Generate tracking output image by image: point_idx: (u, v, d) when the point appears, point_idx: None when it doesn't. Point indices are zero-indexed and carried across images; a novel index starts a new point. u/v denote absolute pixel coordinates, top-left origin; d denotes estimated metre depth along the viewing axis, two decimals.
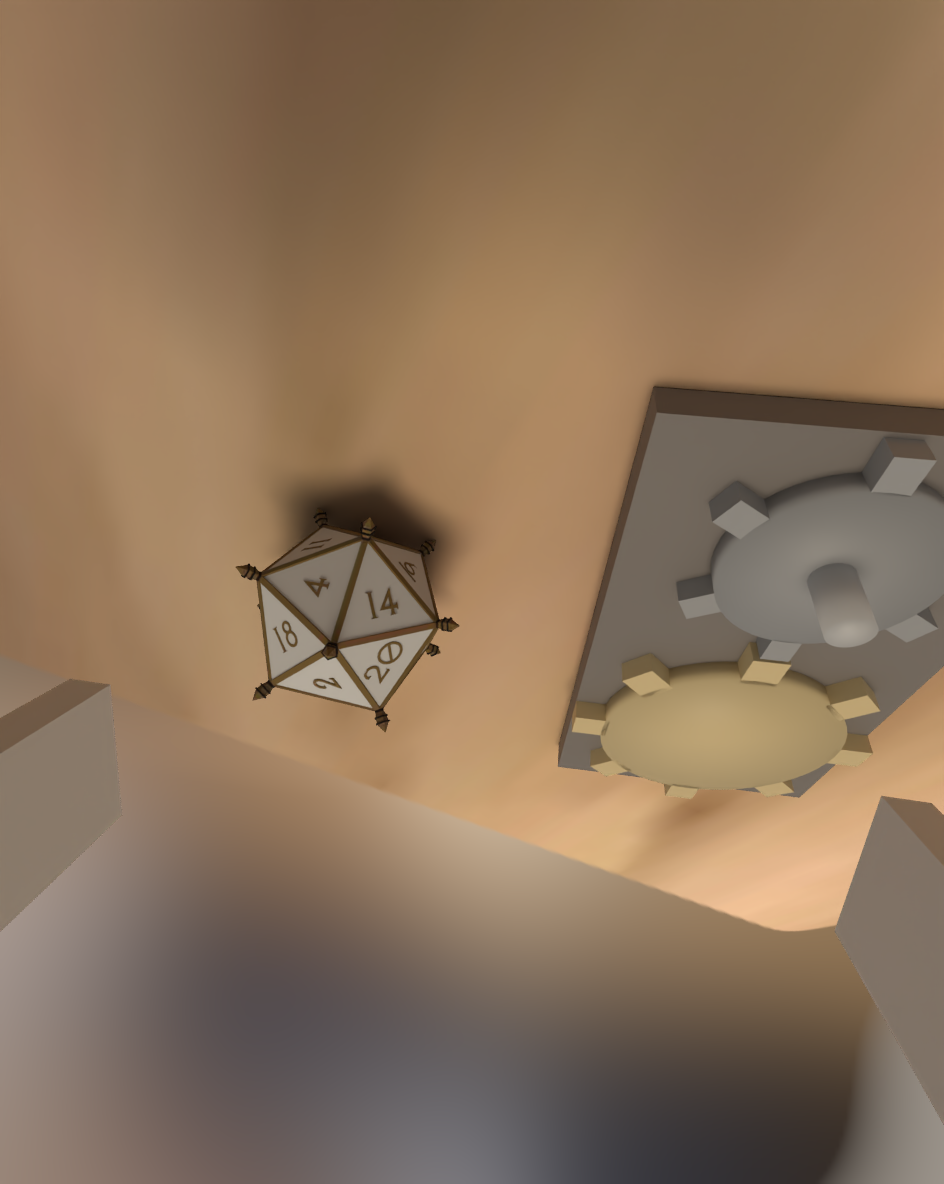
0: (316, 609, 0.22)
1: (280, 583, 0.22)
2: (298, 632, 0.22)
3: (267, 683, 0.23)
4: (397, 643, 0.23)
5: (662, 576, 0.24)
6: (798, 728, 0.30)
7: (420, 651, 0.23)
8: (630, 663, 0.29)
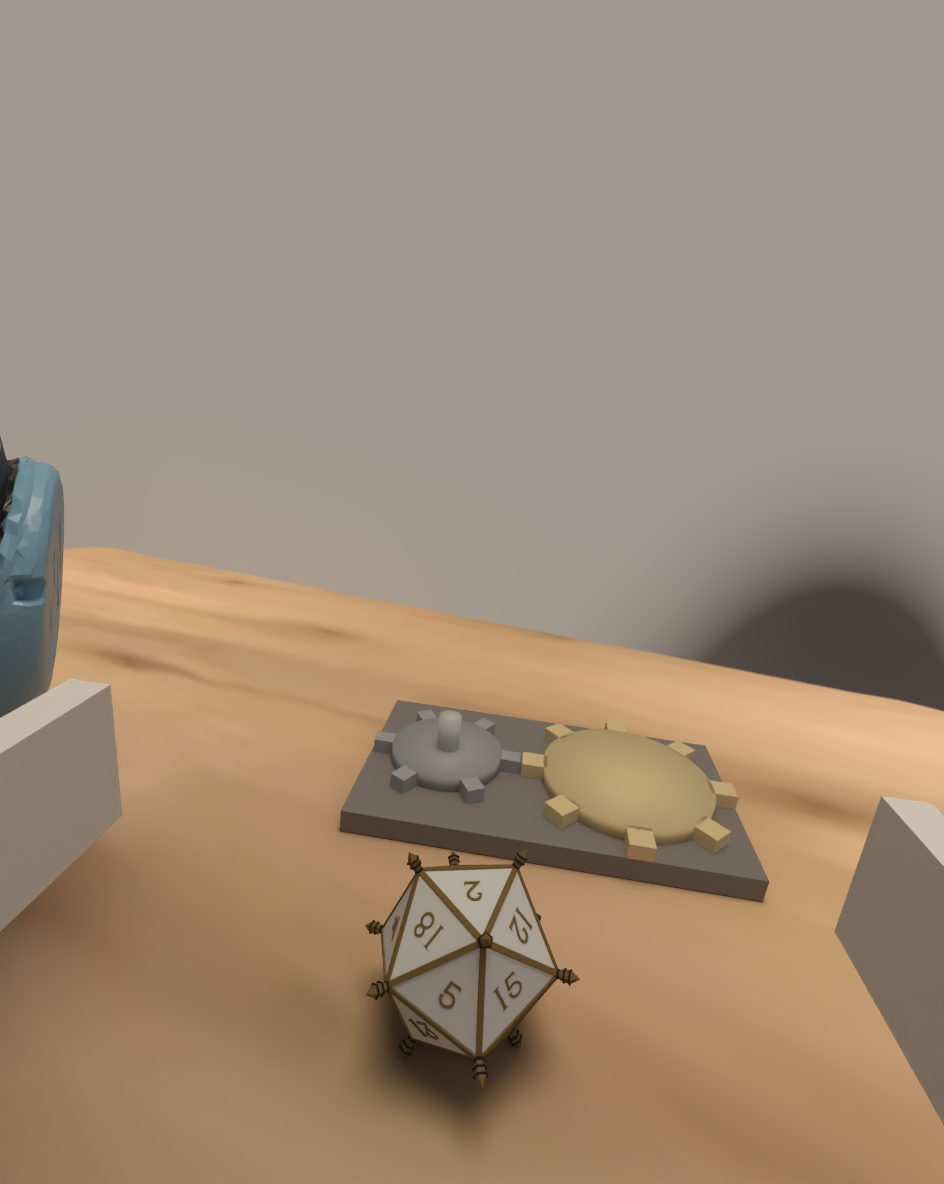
0: (404, 909, 0.25)
1: (391, 958, 0.24)
2: (419, 913, 0.25)
3: (479, 941, 0.23)
4: None
5: (461, 809, 0.39)
6: (591, 744, 0.46)
7: (471, 865, 0.29)
8: (554, 822, 0.38)
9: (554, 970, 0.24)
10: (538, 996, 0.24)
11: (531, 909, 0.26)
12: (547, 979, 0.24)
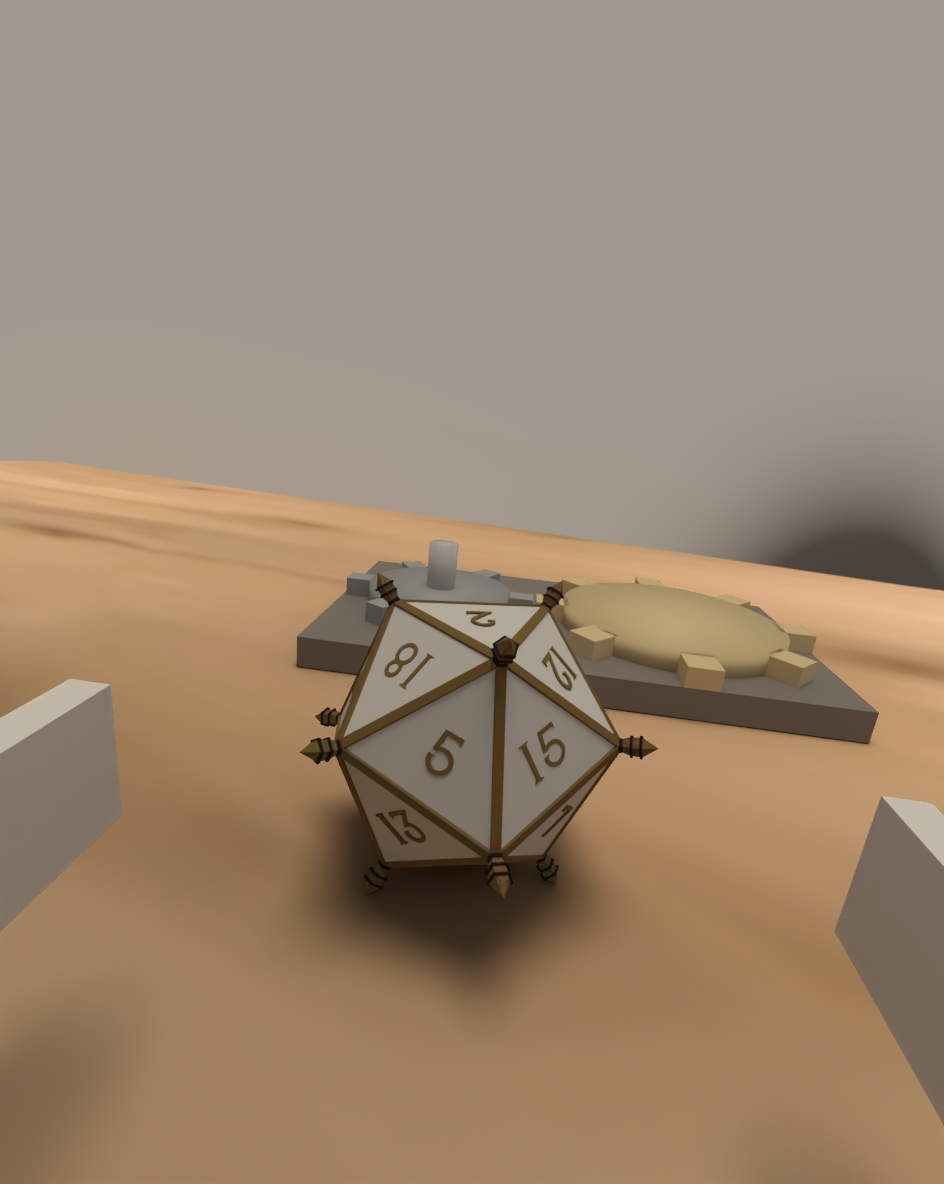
0: None
1: None
2: (394, 648, 0.15)
3: (495, 657, 0.13)
4: None
5: None
6: (621, 592, 0.37)
7: None
8: (583, 653, 0.29)
9: (615, 737, 0.15)
10: (591, 772, 0.14)
11: (573, 658, 0.16)
12: (605, 749, 0.15)
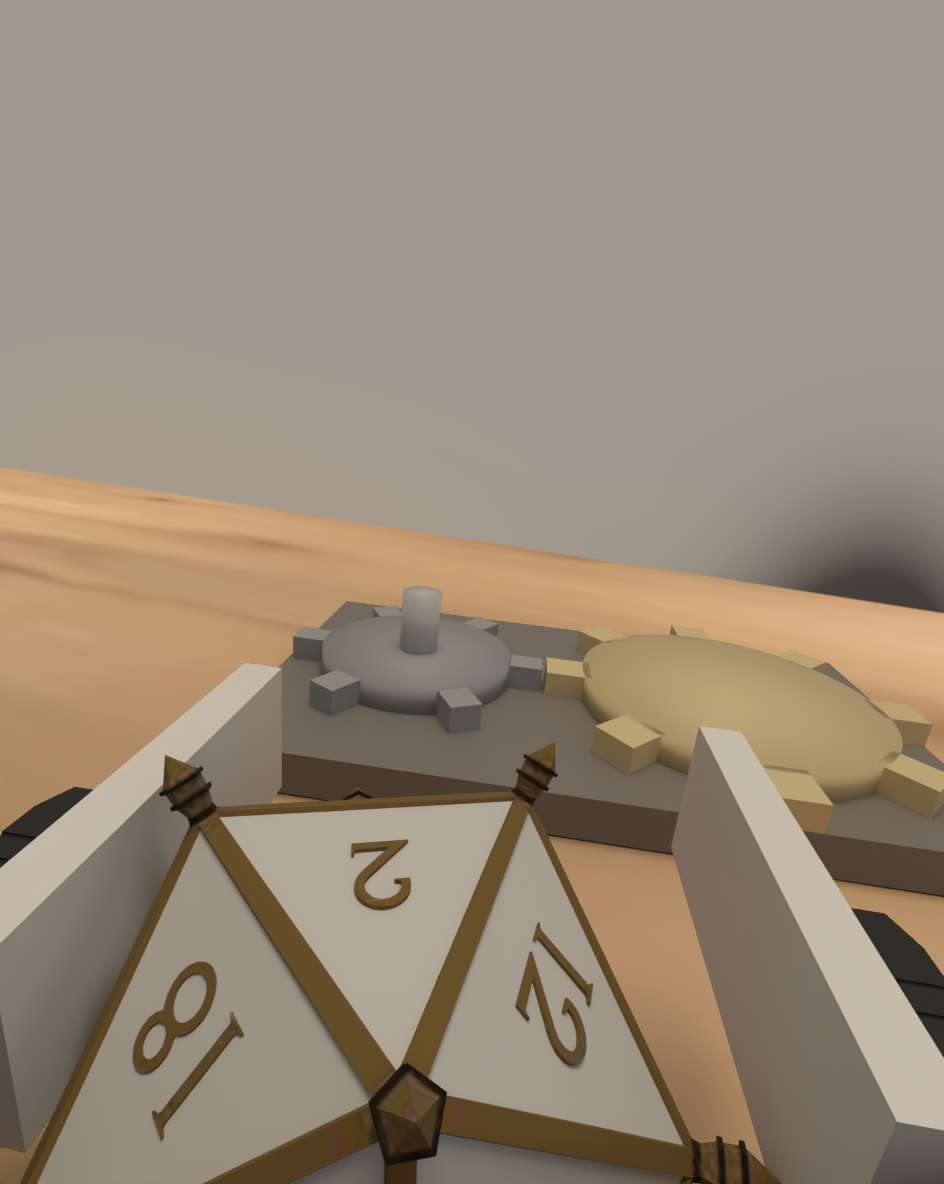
0: None
1: None
2: (171, 968, 0.06)
3: (382, 1111, 0.05)
4: None
5: (438, 741, 0.21)
6: (657, 651, 0.28)
7: None
8: (616, 762, 0.20)
9: (685, 1154, 0.07)
10: None
11: (581, 927, 0.08)
12: None
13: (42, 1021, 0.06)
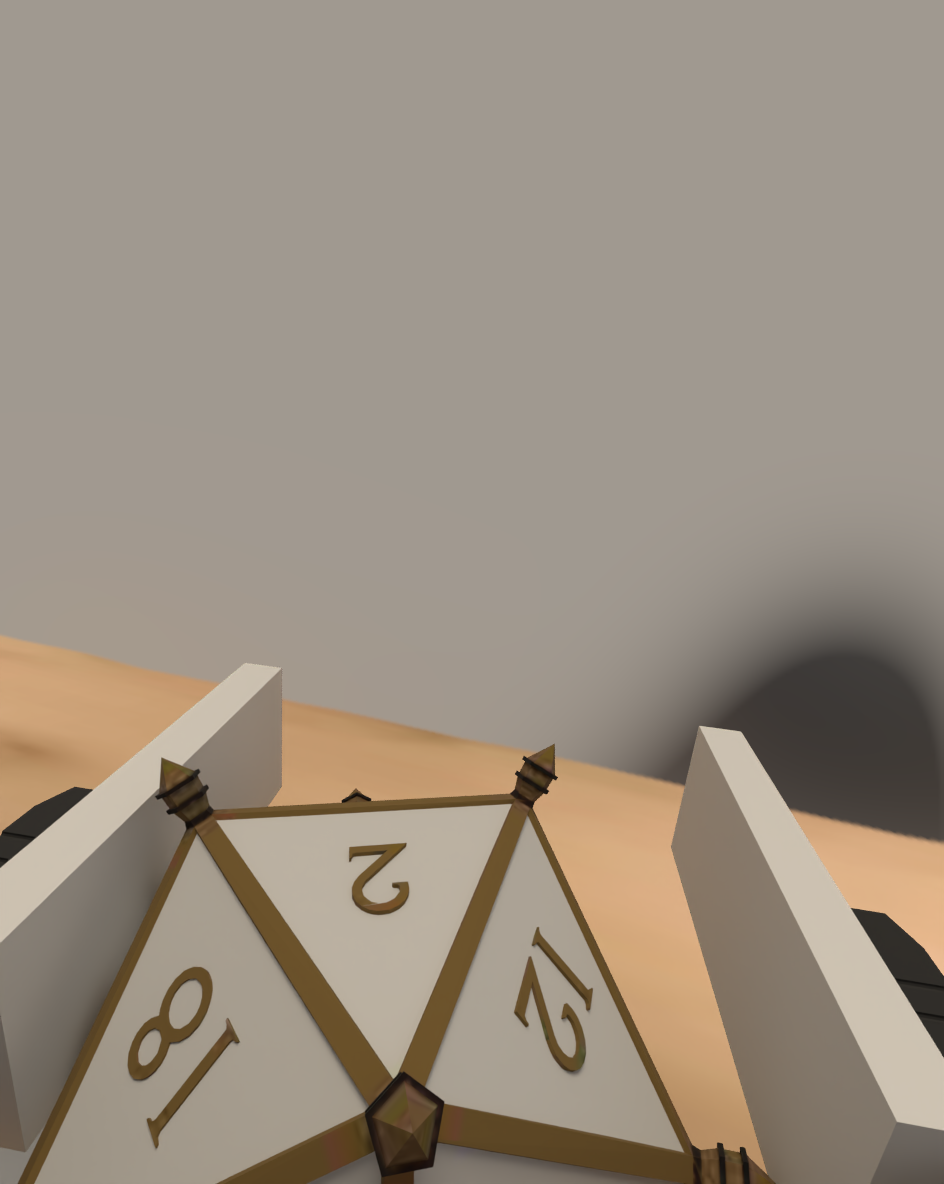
0: None
1: None
2: (167, 973, 0.06)
3: (380, 1120, 0.05)
4: None
5: None
6: None
7: None
8: None
9: (685, 1161, 0.07)
10: None
11: (581, 931, 0.08)
12: None
13: (42, 1021, 0.06)
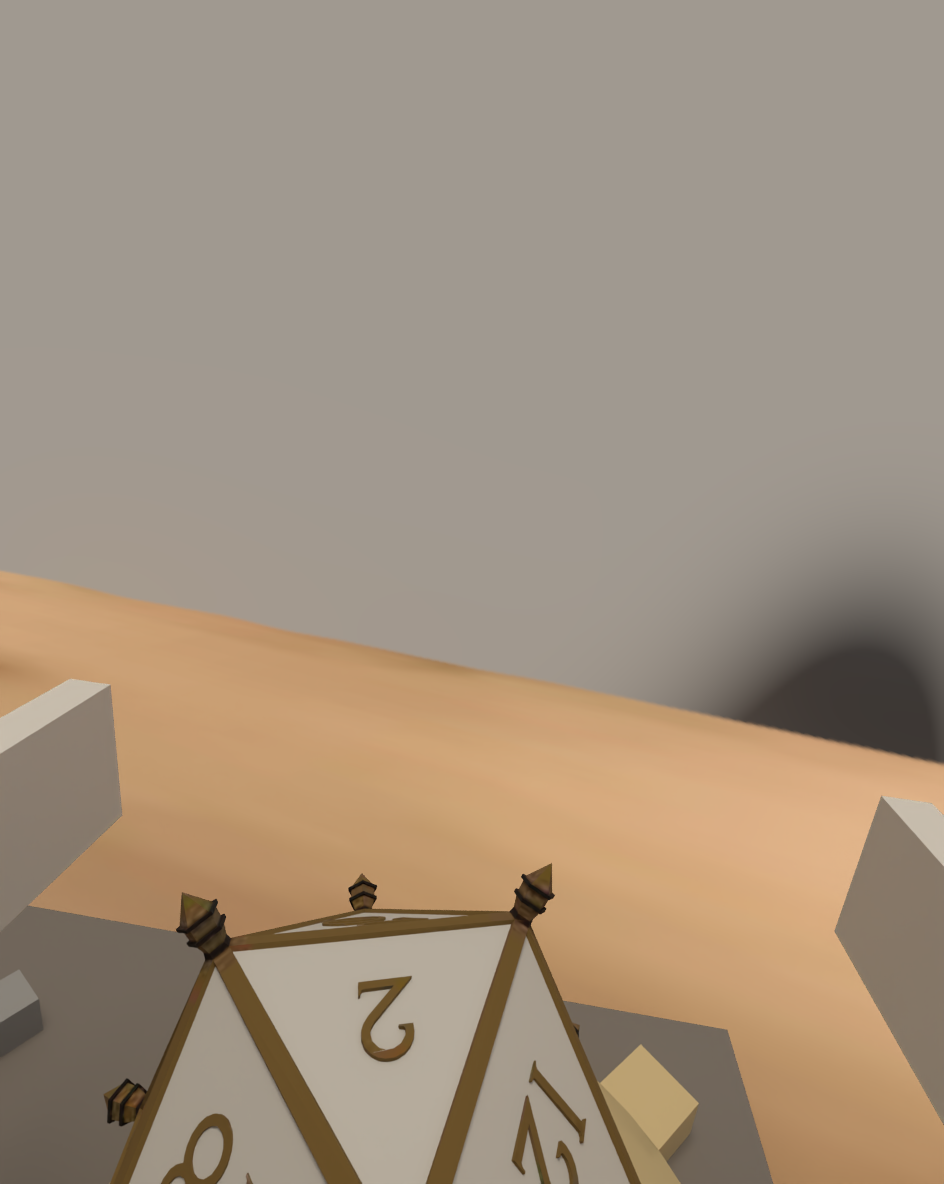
0: None
1: None
2: (190, 1116, 0.07)
3: None
4: (341, 920, 0.10)
5: None
6: None
7: (401, 910, 0.11)
8: None
9: None
10: None
11: (576, 1056, 0.08)
12: None
13: None
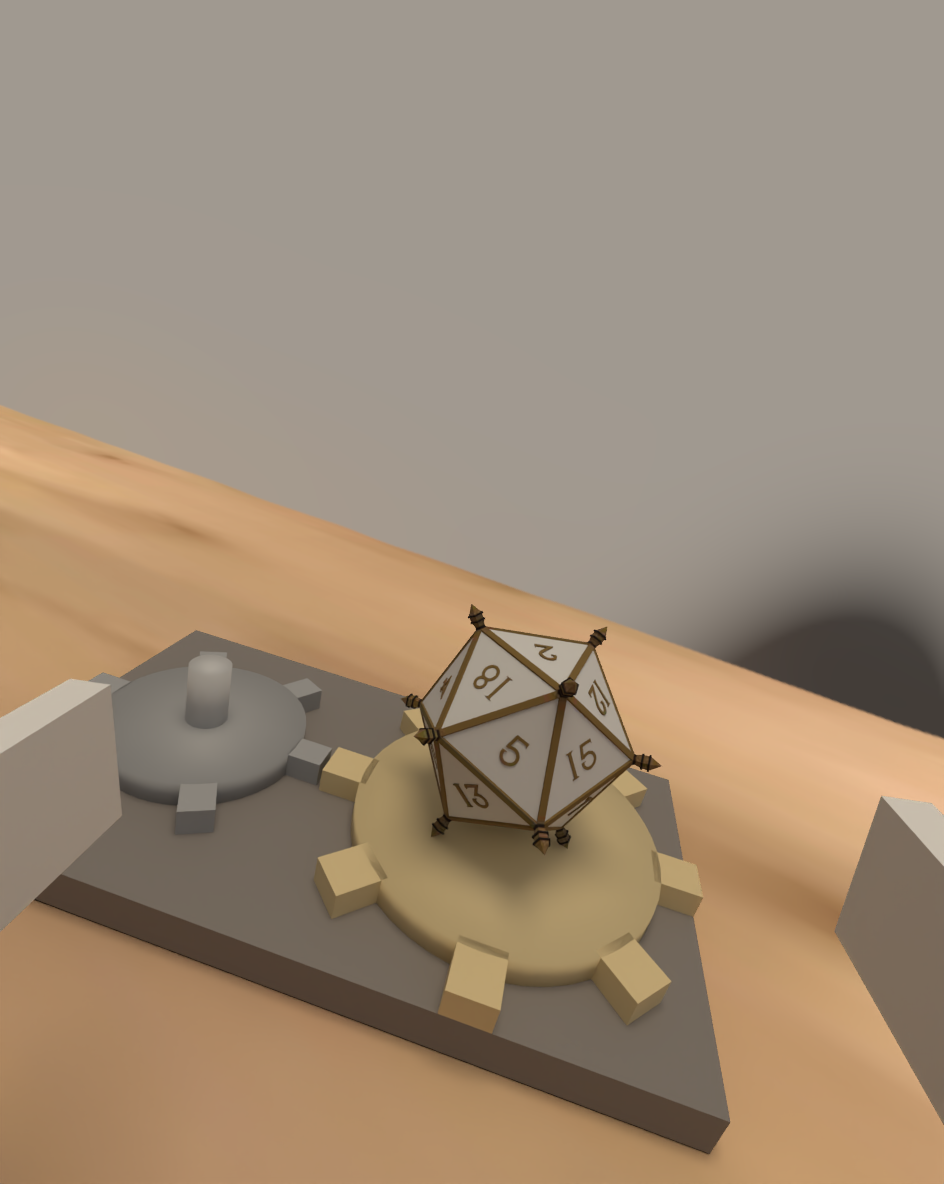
0: (458, 666, 0.21)
1: (441, 711, 0.20)
2: (480, 667, 0.20)
3: (560, 691, 0.19)
4: None
5: (155, 844, 0.20)
6: None
7: None
8: (325, 901, 0.19)
9: (631, 753, 0.20)
10: (611, 776, 0.20)
11: (608, 689, 0.22)
12: (623, 761, 0.20)
13: None
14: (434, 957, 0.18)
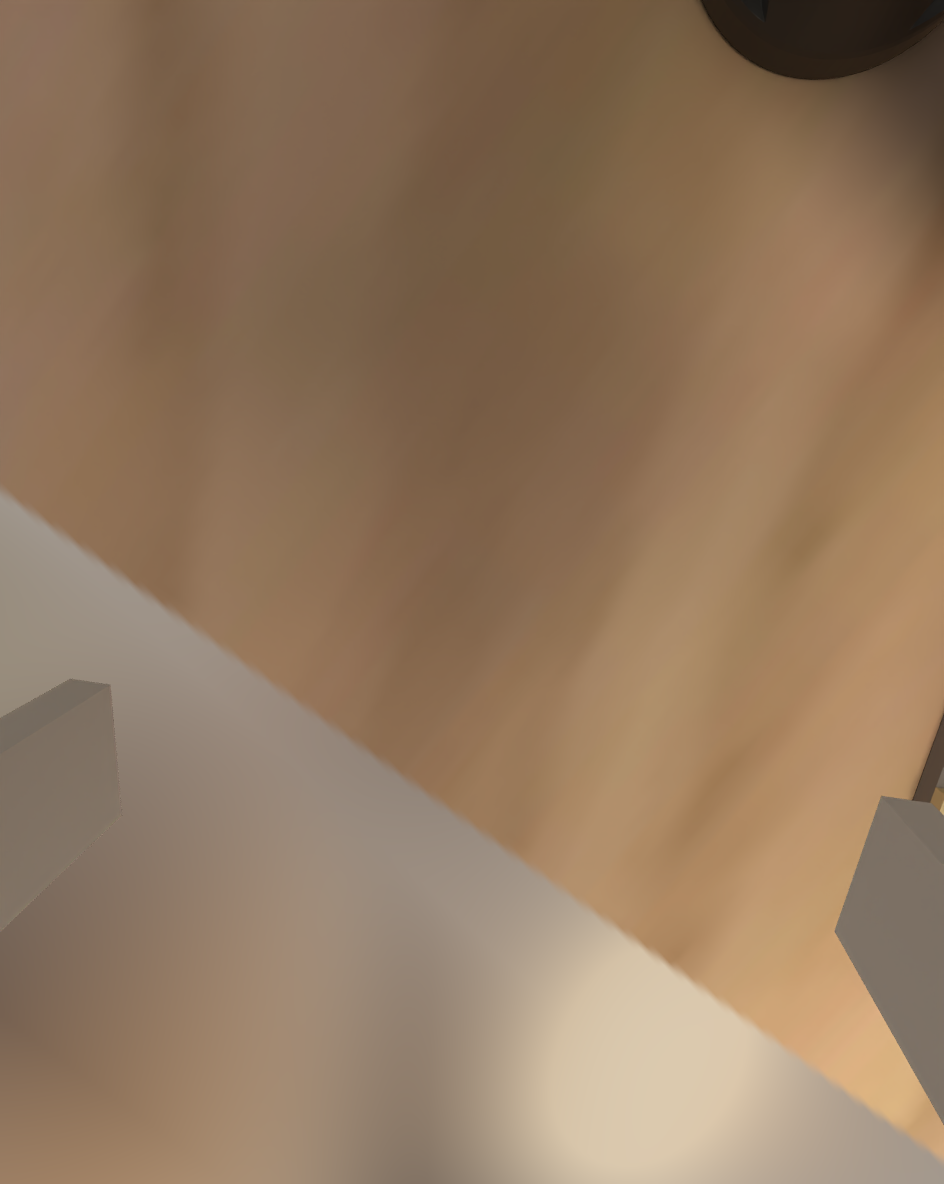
0: None
1: None
2: None
3: None
4: None
5: None
6: None
7: None
8: None
9: None
10: None
11: None
12: None
13: None
14: None
